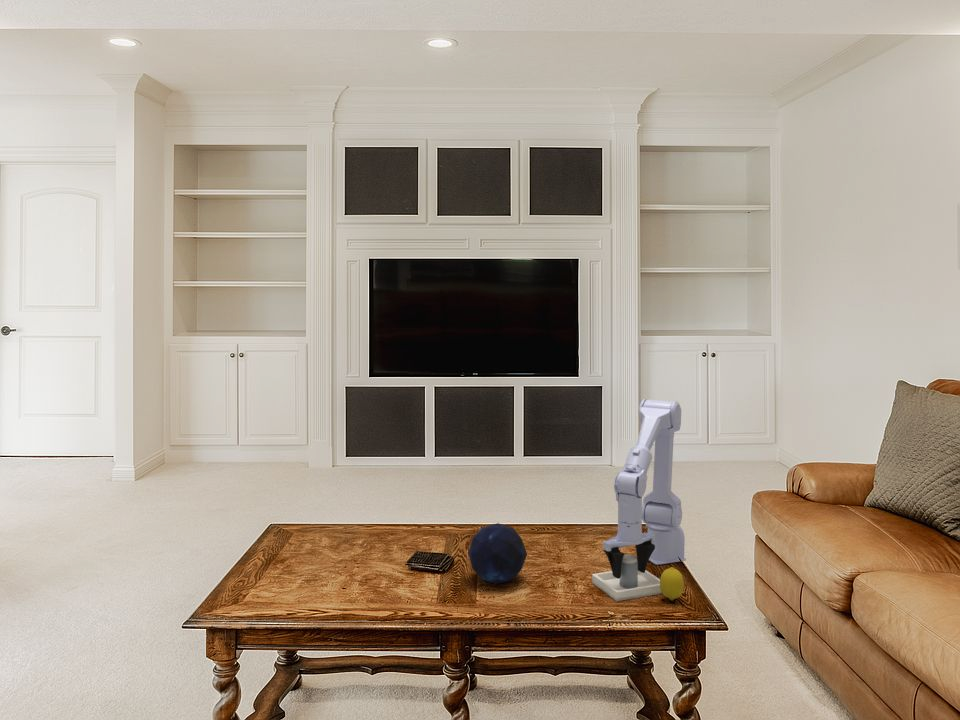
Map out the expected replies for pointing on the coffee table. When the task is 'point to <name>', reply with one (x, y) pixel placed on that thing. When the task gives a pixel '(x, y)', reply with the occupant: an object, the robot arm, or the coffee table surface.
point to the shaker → (629, 572)
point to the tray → (612, 587)
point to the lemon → (671, 583)
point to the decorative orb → (497, 553)
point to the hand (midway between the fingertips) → (629, 574)
